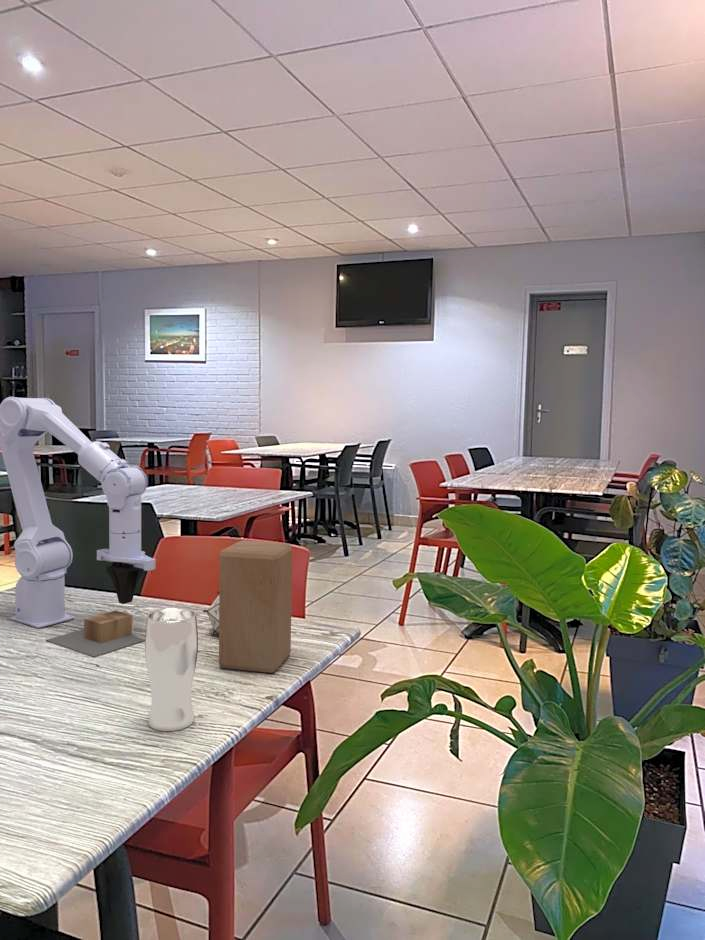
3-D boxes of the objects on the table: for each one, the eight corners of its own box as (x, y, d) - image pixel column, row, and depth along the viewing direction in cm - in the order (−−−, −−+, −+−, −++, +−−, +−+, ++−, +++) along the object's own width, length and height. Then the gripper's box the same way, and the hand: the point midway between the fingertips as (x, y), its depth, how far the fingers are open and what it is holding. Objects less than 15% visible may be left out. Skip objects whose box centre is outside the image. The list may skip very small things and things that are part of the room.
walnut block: (115, 628, 134) (84, 637, 128) (115, 610, 134) (83, 618, 128) (133, 633, 131) (101, 643, 126) (133, 614, 131) (101, 623, 125)
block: (274, 675, 113) (276, 553, 111) (216, 669, 115) (217, 549, 113) (292, 654, 123) (294, 542, 121) (238, 649, 125) (239, 538, 123)
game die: (228, 656, 132) (219, 624, 125) (200, 631, 136) (190, 599, 130) (264, 626, 136) (256, 594, 130) (236, 603, 141) (227, 571, 134)
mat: (45, 640, 127) (45, 639, 127) (97, 626, 136) (97, 625, 136) (94, 657, 119) (94, 656, 119) (145, 640, 128) (145, 639, 128)
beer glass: (176, 706, 101) (177, 604, 99) (208, 720, 96) (208, 614, 95) (134, 722, 95) (134, 614, 94) (165, 738, 91) (165, 625, 90)
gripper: (168, 533, 131) (168, 604, 132) (118, 524, 139) (118, 591, 140) (137, 538, 125) (138, 612, 126) (87, 529, 133) (87, 599, 134)
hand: (125, 602), depth 133 cm, fingers closed
